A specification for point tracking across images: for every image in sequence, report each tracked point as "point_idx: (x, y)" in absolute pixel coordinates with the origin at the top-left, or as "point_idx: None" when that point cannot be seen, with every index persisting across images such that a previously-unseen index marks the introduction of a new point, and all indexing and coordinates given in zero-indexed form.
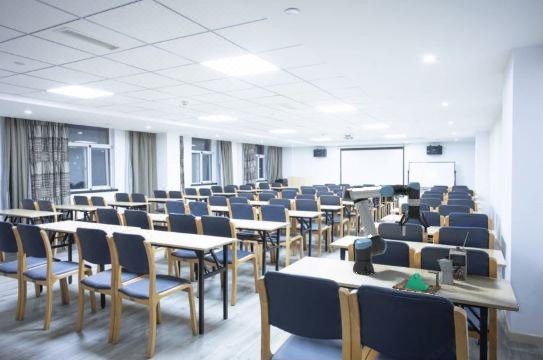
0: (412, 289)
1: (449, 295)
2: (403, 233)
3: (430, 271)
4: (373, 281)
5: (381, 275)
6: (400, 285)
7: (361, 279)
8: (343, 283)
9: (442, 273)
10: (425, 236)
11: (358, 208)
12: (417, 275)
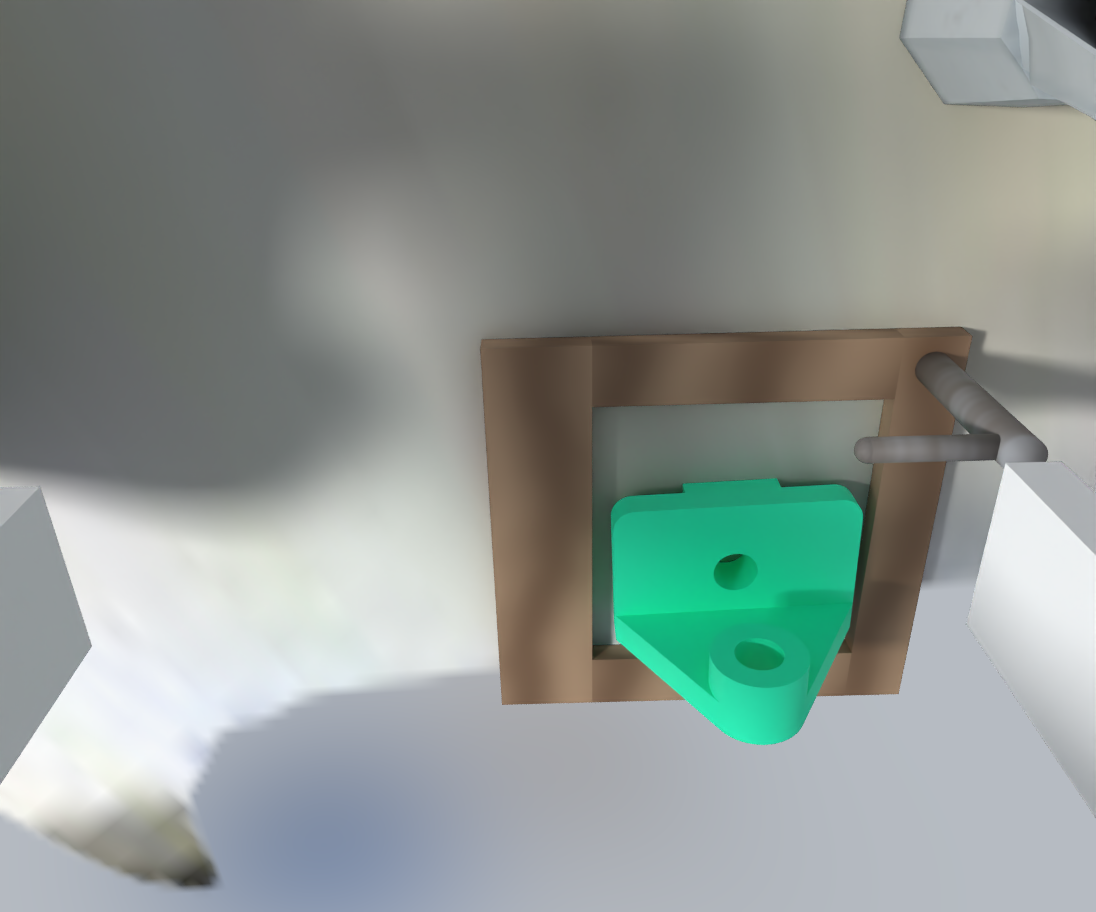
0: None
1: None
2: (30, 726)
3: (908, 456)
4: (211, 615)
5: (88, 319)
6: (554, 627)
7: None
8: (63, 837)
9: (1033, 95)
10: (1089, 500)
11: None
12: (790, 732)
